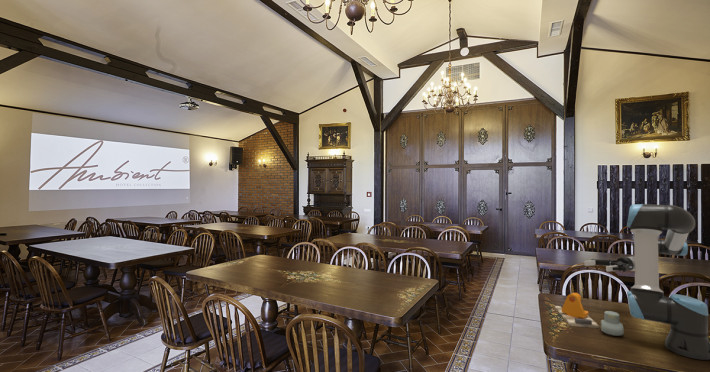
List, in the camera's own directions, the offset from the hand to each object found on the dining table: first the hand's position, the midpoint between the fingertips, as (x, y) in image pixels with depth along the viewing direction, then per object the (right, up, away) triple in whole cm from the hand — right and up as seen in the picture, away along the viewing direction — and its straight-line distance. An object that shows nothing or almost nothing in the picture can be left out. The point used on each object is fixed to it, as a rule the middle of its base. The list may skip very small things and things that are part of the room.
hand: (595, 266), depth 188 cm
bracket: (-12, -27, -1) cm, 29 cm away
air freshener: (-7, -28, -21) cm, 36 cm away
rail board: (-12, -28, -1) cm, 30 cm away
